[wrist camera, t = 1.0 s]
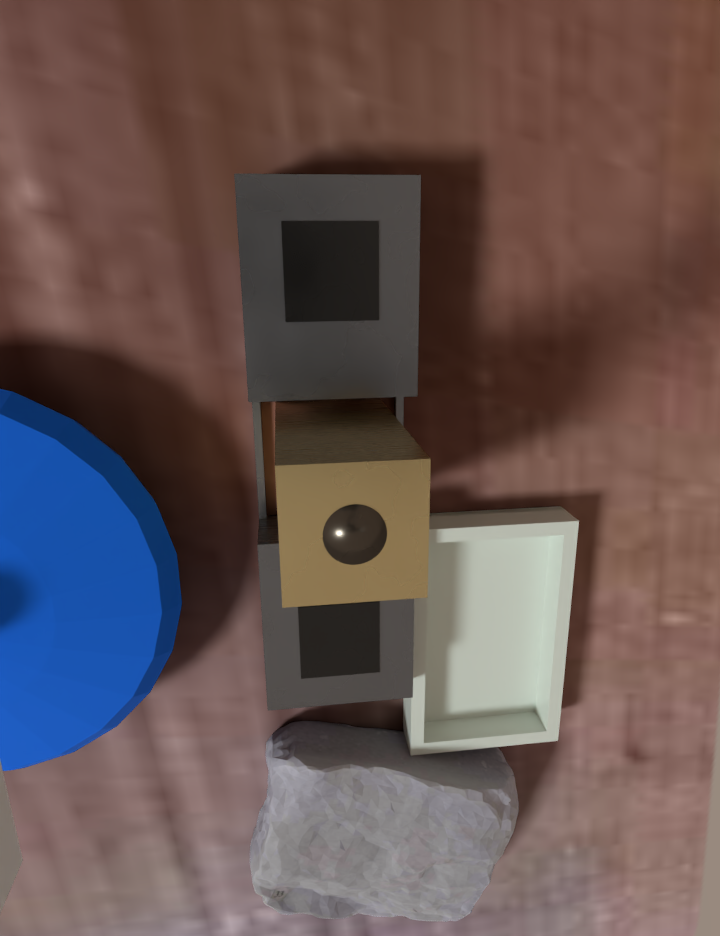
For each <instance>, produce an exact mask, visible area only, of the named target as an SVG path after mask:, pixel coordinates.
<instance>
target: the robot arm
mask: <svg viewBox="0 0 720 936" xmlns="http://www.w3.org/2000/svg"><path fill="white" fill-rule="evenodd" d="M22 861H23V859H22V854H21V850H20V845H19V841H18V837H17V832H16V828H15V823H14V819H13V814H12V810H11V806H10V801H9V797H8V792H7V788H6V783H5V779H4V775H3V770H2V766H1V761H0V913H1V910H2V908H3V906H4V903H5V901H6V899H7V896H8V894H9V892H10V889H11V887H12V885H13V882H14V880H15V878H16V875H17V873H18V871H19V868H20V866H21V863H22Z"/></svg>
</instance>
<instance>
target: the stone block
mask: <svg viewBox="0 0 720 936" xmlns="http://www.w3.org/2000/svg"><path fill="white" fill-rule="evenodd" d="M266 762H267V766H268V771H269V775H268V789H267V798H266V800H265V803H264V805H263V806H262V808H261V810H260V812H259V816H258V821H257V825H256V827H255V829H254V833H253V837H252V840H251V846H250V867H251V873H252V882H253V886H254V890H255V893H257V894H259V895H261V896H262V898H263V902H264V904H265V905H267V906H269V907H271V908H273V909H274V910H275V911H277V912H278V913H280V914H285V915H290V914H298V913H303V914H310V915H314V916H316V917H318V918H328V919H341V918H347V917H350V916H353V915H355V914H357V913H360V914H363V915H371V916H374V917H395V916H398V915H399V916H404V917H407V918H410V919H411V920H421V921H445V922H446V921H457V920H459V919H462V918H463V917H465V916H466V915H468V914H470V913H471V911H472V909H473V907H474V904H475V903H476V901H477V900H478V899H479V897H480V896H481V894H482V892H483V890H484V889H485V888H486V886H487V885H488V884H489V883H490V879H491V875H492V871H493V869H494V866H495V863H496V862H497V861H498V860H499V859H500V857H501V856H502V855H503V853H504V850H505V848H506V846H507V844H508V842H509V841H510V838H511V836H512V834H513V832H514V828H515V825H516V820H517V815H518V812H519V802H518V794H517V789H516V783H515V777H514V773H513V770H512V769H511V767H510V766H509V765H508V763H507V761H506V759H505V757H504V755H503V753H502V752H501V750H500V749H499V748H498V747H492V748H482V749H472V750H462V751H452V752H442V753H432V754H422V755H412V756H411V755H410V752H409V748H408V745H407V741H406V737H405V734H404V731H397V730H387V729H381V728H362V727H354V726H350V725H347V724H337V723H328V722H320V721H299V722H292V723H290V724H288V725H286V726H285V727H281V728H279V729H278V730H277V731H275V732H274V733H273V734H272V735H271V737H270V738H269V739H268V741H267V742H266Z"/></svg>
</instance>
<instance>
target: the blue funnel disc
mask: <svg viewBox="0 0 720 936" xmlns="http://www.w3.org/2000/svg"><path fill="white" fill-rule="evenodd" d="M181 606H182V598H181V589H180V579H179V569H178V560H177V553H176V551H175V548H174V546H173V543H172V541H171V538H170V536H169V534H168V531H167V529H166V526H165V524H164V521H163V519H162V516H161V514H160V512H159V509H158V507H157V504H156V503H155V501H154V499H153V498H152V496H151V495H150V494H149V492H148V491H147V490H146V488H145V487H144V486H143V485H142V483H141V482H140V481H139V479H138V478H137V477H136V475H135V474H134V473H133V471H132V470H131V469H130V468H129V466H128V465H127V464H126V462H125V461H124V460H123V458H122V457H121V456H120V455H119V454H117V453H116V452H115V451H114V450H112V449H111V448H110V447H108V446H107V445H106V444H105V443H103V442H102V441H101V440H100V439H98V438H97V437H96V436H95V435H93V434H92V433H91V432H90V431H88V430H87V429H86V428H85V427H83V426H82V425H81V424H80V423H78V422H77V421H75V420H73V419H71V418H69V417H67V416H65V415H62V414H60V413H58V412H56V411H54V410H52V409H50V408H47V407H45V406H43V405H41V404H39V403H37V402H35V401H33V400H30V399H28V398H26V397H24V396H22V395H19V394H17V393H15V392H12V391H7V390H3V389H0V761H1V766H2V770H3V771H7V770H15V769H21V768H25V767H28V766H31V765H35V764H38V763H41V762H44V761H47V760H50V759H53V758H57V757H60V756H63V755H66V754H69V753H72V752H75V751H76V750H78V749H80V748H81V747H83V746H85V745H86V744H88V743H90V742H91V741H93V740H95V739H96V738H98V737H100V736H101V735H103V734H105V733H106V732H108V731H110V730H111V729H113V728H115V727H116V726H117V725H118V724H119V723H120V722H121V721H122V720H123V719H124V718H125V717H126V716H127V715H128V714H129V713H130V712H131V711H132V710H133V709H134V708H135V707H136V706H137V705H138V704H139V703H140V702H141V701H142V700H143V699H144V698H145V697H146V696H147V695H148V694H149V693H150V692H151V690H152V688H153V686H154V684H155V682H156V681H157V679H158V677H159V675H160V673H161V671H162V669H163V668H164V666H165V664H166V662H167V660H168V658H169V656H170V655H171V653H172V651H173V647H174V642H175V637H176V631H177V626H178V621H179V616H180V611H181Z"/></svg>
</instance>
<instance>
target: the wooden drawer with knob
mask: <svg viewBox="0 0 720 936" xmlns="http://www.w3.org/2000/svg"><path fill="white" fill-rule="evenodd" d="M430 467H431V459H430V457H429V456H428V455H427V454H426V453H425V451H424V450H423V449H422V448H421V447H420V445H419V444H418V443H417V442H416V441H415V440H414V438H413V437H412V436H411V435H410V434H409V432H408V431H407V430H406V429H405V428H404V426H403V425H402V424H401V423H400V422H399V421H398V419H397V418H396V417H395V416H394V415H393V413H392V412H391V411H390V410H389V409H388V407H387V406H386V405H385V404H384V403H383V402H382V400H381V399H380V398H374V399H344V400H315V401H285V402H276V410H275V475H276V495H277V514H278V534H279V553H280V573H281V592H282V608H287V607H301V606H315V605H329V604H343V603H357V602H371V601H385V600H400V599H414V598H428V556H429V512H430Z"/></svg>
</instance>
